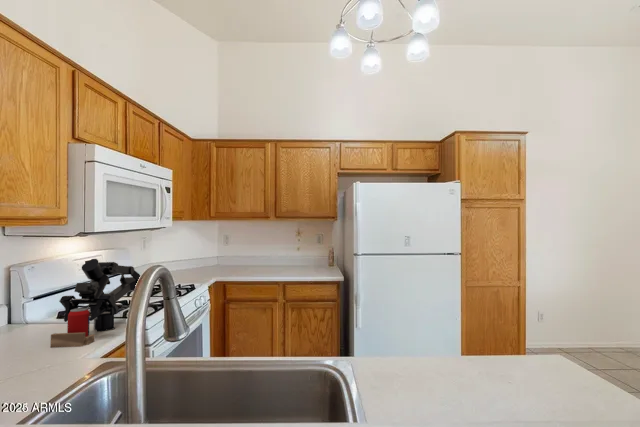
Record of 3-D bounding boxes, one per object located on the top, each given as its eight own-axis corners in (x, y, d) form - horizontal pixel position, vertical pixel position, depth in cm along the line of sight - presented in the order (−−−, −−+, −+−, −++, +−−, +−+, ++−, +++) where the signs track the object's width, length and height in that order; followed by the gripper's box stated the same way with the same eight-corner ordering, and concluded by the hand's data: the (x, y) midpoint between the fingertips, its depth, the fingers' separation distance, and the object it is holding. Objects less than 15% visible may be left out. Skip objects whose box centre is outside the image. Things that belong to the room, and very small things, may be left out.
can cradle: (60, 342, 124) (60, 330, 125) (94, 341, 125) (94, 329, 125) (48, 347, 119) (48, 334, 119) (84, 346, 119) (84, 333, 120)
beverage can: (93, 339, 128) (94, 307, 129) (79, 344, 121) (80, 311, 122) (77, 338, 129) (78, 307, 130) (62, 344, 122) (63, 311, 123)
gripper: (63, 275, 131) (40, 309, 119) (112, 273, 132) (94, 308, 120) (76, 292, 138) (55, 326, 127) (122, 290, 139) (106, 324, 128)
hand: (77, 320), depth 125 cm, fingers open, 9 cm apart
